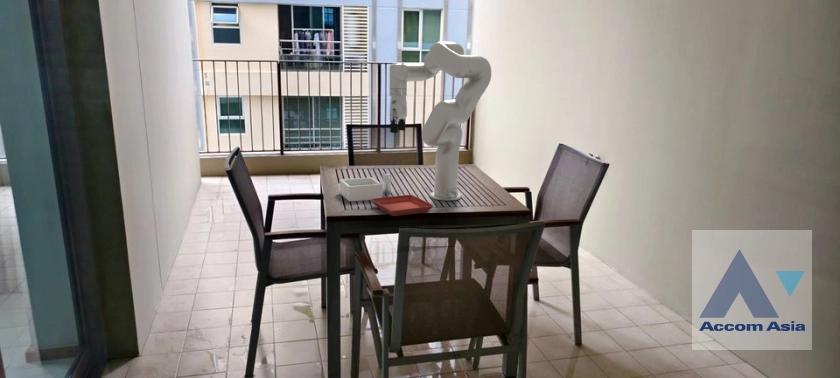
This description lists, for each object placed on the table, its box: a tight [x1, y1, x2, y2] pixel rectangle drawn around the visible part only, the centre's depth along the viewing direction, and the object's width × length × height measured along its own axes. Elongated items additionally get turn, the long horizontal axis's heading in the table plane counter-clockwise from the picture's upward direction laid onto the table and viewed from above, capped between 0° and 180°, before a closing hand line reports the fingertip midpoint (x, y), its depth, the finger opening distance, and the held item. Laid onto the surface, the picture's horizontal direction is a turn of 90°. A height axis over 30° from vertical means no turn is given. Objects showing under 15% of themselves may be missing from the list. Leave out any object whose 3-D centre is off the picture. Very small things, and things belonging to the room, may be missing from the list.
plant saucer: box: [370, 194, 434, 217], centre depth 217 cm, size 18×18×3 cm
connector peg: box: [381, 173, 392, 195], centre depth 241 cm, size 4×4×8 cm
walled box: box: [339, 176, 383, 202], centre depth 235 cm, size 14×14×6 cm
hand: (397, 131), depth 254 cm, fingers open, 9 cm apart
